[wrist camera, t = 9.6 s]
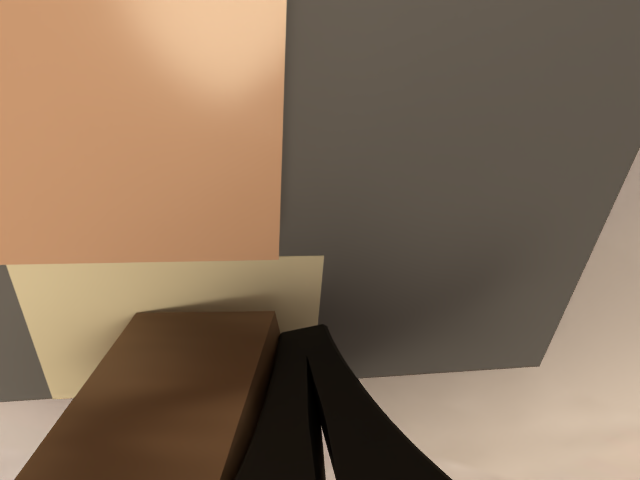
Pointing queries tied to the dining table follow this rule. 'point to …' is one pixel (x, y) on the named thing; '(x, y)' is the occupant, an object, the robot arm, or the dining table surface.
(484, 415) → the dining table surface
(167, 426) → the block
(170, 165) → the tile
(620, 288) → the dining table surface
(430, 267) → the mat
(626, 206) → the dining table surface
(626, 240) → the dining table surface
